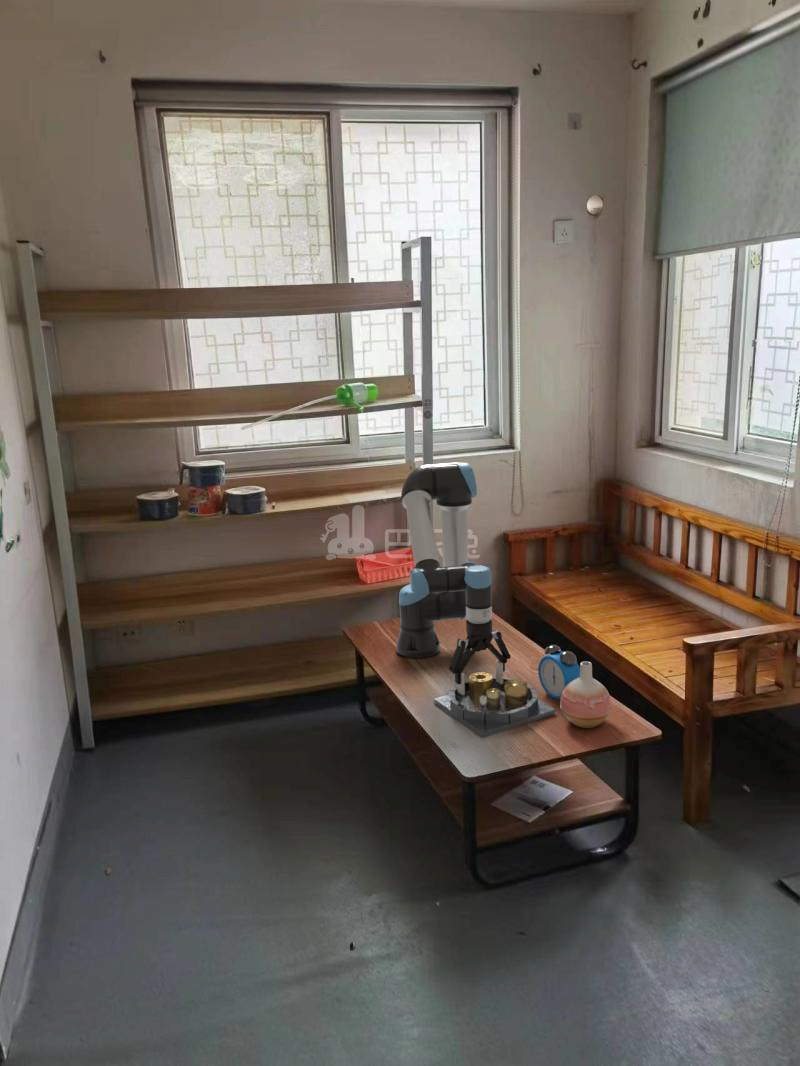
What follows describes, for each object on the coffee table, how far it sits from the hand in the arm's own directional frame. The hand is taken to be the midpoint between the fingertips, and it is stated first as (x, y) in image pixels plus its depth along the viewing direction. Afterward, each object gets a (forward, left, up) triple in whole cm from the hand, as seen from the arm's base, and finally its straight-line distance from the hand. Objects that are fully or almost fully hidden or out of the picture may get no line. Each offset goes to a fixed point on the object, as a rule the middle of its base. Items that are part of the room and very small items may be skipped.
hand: (480, 687), depth 235 cm
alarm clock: (+10, +21, -4) cm, 24 cm away
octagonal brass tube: (0, 0, -2) cm, 2 cm away
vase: (+27, +16, -4) cm, 32 cm away
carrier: (+6, 0, -4) cm, 8 cm away
